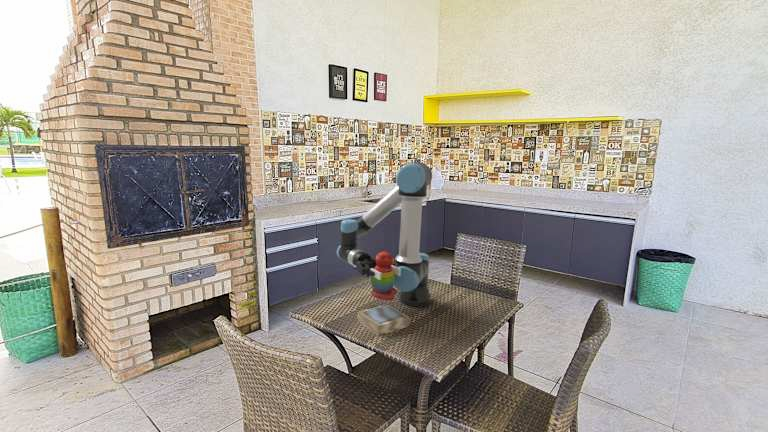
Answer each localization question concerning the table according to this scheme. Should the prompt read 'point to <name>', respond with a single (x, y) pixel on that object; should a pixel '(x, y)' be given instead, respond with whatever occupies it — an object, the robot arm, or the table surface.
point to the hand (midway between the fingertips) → (390, 274)
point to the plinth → (382, 319)
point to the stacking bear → (384, 278)
